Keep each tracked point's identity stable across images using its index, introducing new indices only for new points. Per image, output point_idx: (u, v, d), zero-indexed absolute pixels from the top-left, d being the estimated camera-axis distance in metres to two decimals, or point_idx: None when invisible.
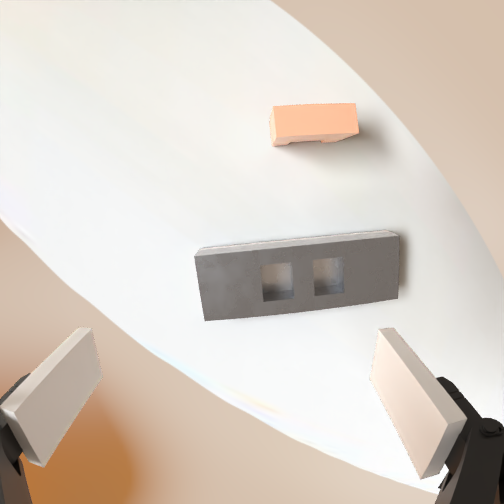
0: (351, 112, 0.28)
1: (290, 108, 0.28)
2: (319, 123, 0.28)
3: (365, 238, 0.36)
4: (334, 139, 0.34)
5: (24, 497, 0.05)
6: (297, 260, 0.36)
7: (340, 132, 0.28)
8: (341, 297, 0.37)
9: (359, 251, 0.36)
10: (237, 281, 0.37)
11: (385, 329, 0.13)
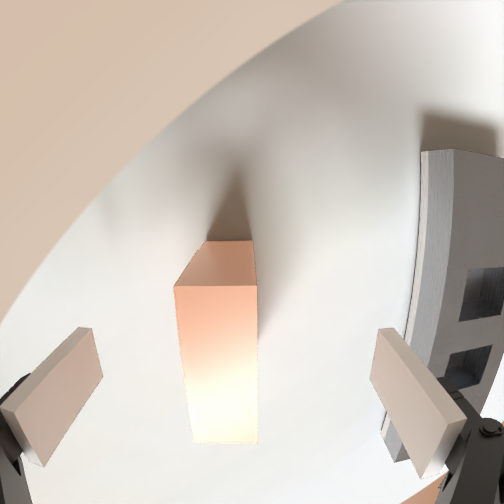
0: (199, 299, 0.12)
1: (197, 419, 0.13)
2: (229, 376, 0.12)
3: (449, 221, 0.16)
4: None
5: (24, 497, 0.05)
6: (451, 345, 0.18)
7: (254, 333, 0.12)
8: None
9: (466, 237, 0.16)
10: None
11: (385, 329, 0.13)
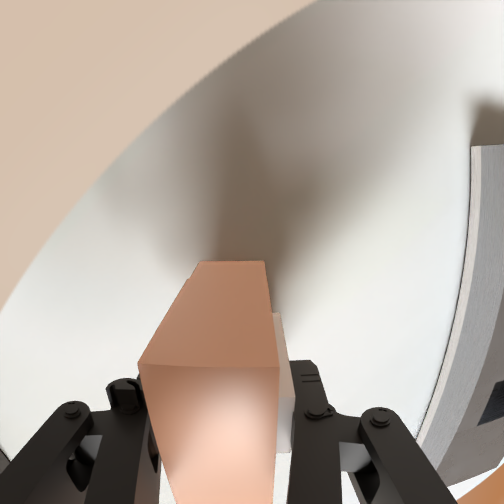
0: (181, 384, 0.06)
1: None
2: (233, 477, 0.07)
3: None
4: None
5: (153, 498, 0.07)
6: (497, 374, 0.13)
7: (272, 431, 0.07)
8: None
9: None
10: (479, 447, 0.15)
11: None
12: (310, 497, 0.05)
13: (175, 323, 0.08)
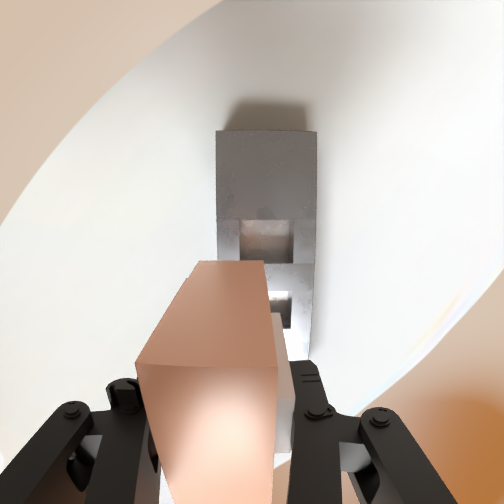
0: (179, 384, 0.06)
1: None
2: (232, 477, 0.07)
3: None
4: None
5: (153, 498, 0.07)
6: None
7: (271, 431, 0.07)
8: (301, 224, 0.26)
9: (233, 195, 0.25)
10: None
11: None
12: (310, 497, 0.05)
13: (173, 323, 0.08)
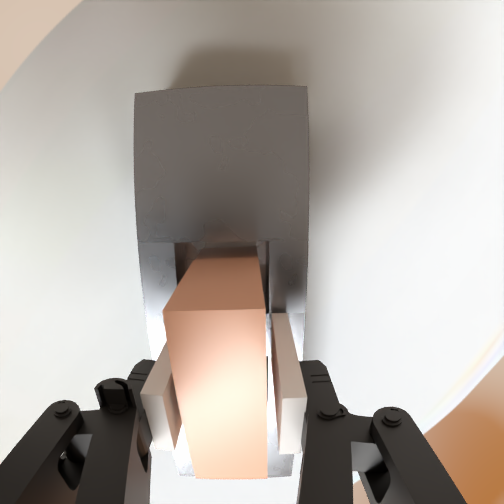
0: (194, 326, 0.09)
1: (198, 456, 0.11)
2: (234, 411, 0.10)
3: None
4: None
5: (144, 497, 0.07)
6: None
7: (263, 364, 0.10)
8: (281, 248, 0.15)
9: (162, 200, 0.14)
10: None
11: (278, 314, 0.15)
12: (321, 497, 0.05)
13: (187, 287, 0.11)
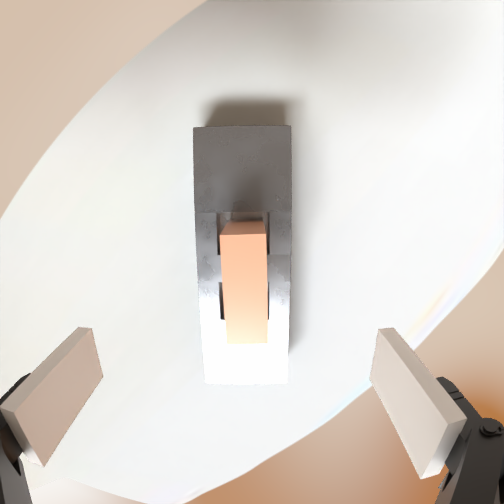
0: (234, 242, 0.21)
1: (229, 324, 0.22)
2: (250, 290, 0.22)
3: None
4: None
5: (24, 497, 0.05)
6: (216, 275, 0.28)
7: (265, 262, 0.21)
8: (276, 216, 0.27)
9: (210, 189, 0.26)
10: (239, 346, 0.29)
11: (385, 329, 0.13)
12: None
13: (228, 229, 0.23)
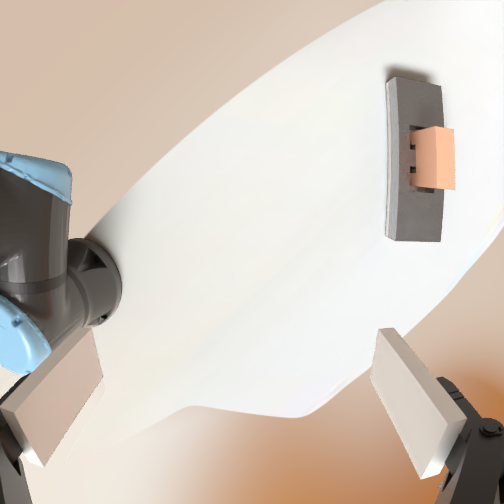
0: (441, 130, 0.33)
1: (438, 175, 0.35)
2: (448, 157, 0.34)
3: (396, 104, 0.39)
4: None
5: (24, 497, 0.05)
6: (409, 161, 0.40)
7: (453, 143, 0.34)
8: None
9: (406, 111, 0.39)
10: (418, 211, 0.42)
11: (385, 329, 0.13)
12: None
13: (430, 128, 0.35)
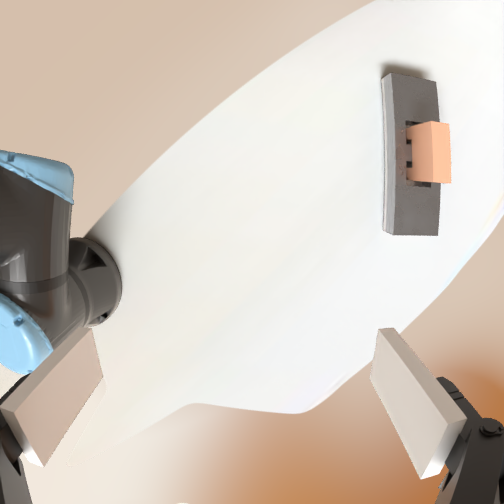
0: (436, 125, 0.34)
1: (435, 169, 0.35)
2: (444, 151, 0.35)
3: (392, 100, 0.39)
4: None
5: (24, 497, 0.05)
6: (405, 156, 0.41)
7: (449, 137, 0.34)
8: None
9: (401, 106, 0.39)
10: (415, 205, 0.42)
11: (385, 329, 0.13)
12: None
13: None
